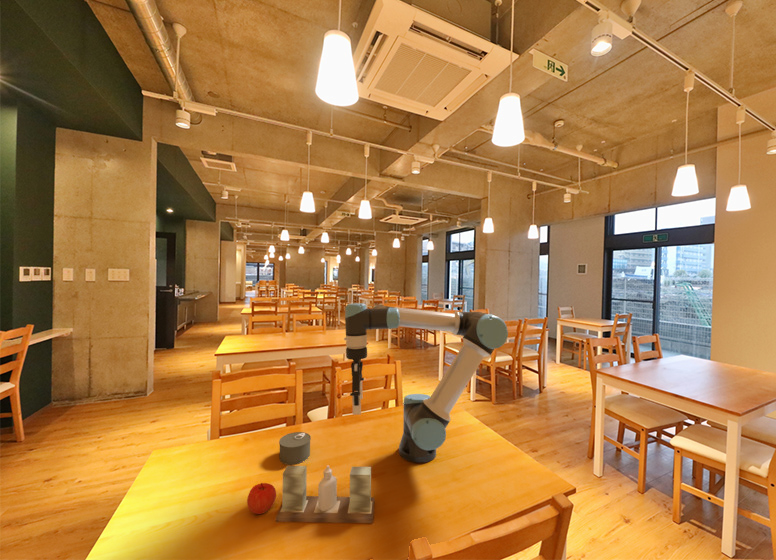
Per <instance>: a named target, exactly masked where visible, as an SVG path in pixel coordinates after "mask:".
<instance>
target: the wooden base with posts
mask: <svg viewBox="0 0 776 560" xmlns="http://www.w3.org/2000/svg"><path fill="white" fill-rule="evenodd" d="M307 468H308V467H307V465H286V467H285V469H284V470H283V473H282V500H281V501H282V504H281V506H280V507H279V509H278V511H277V514H276V516H275V522H282V523H283V522H285V523H286V522H288V523H289V522H290V523H291V522H294V523H298V522H299V523H339V524H340V523H345V524H355V523H356V524H374V513H375V512H374V509H375V496H373V497H372V466H351V469H350V472H349V473H350V474H349V496H337V501H336V504H335V505H334V506H333V507H332V508H330V509H329V510H326V511H321V510H320V509H319V508H318V495H314V496H313V495H307Z"/></svg>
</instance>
